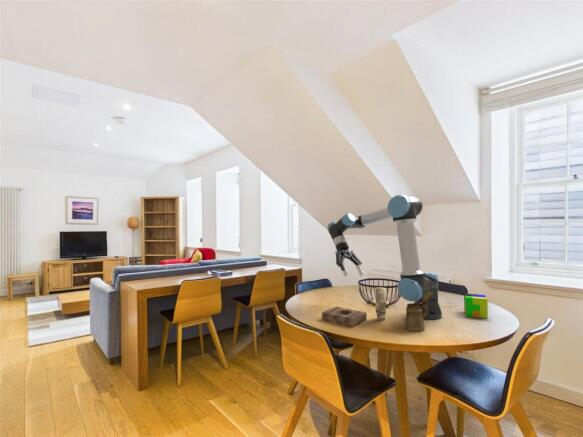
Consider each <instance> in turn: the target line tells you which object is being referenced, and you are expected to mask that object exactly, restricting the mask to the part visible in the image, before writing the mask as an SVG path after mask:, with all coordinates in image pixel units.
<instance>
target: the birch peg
mask: <svg viewBox="0 0 583 437" xmlns="http://www.w3.org/2000/svg"><path fill="white" fill-rule="evenodd" d="M386 292H387V291H386V287H375V314H376V320H378V321H380V322H381V321H385V320H386V317H385V316H386V315H387V308H386V304H387V302H386V300H387V299H386V298H387V296H386V295H387V294H386Z"/></svg>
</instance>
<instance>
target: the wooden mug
mask: <svg viewBox="0 0 583 437" xmlns="http://www.w3.org/2000/svg"><path fill="white" fill-rule="evenodd" d="M432 295H433V291H432V290H431V291H429V292H427V293H426V294H425V295H424V296H423V299H422V303H419V305H418V304H414V302H413V303H412V302H411V303H407V305H406V308H405V311H406V314H405V323H404V326H403V329H405V330H406V331H409V332H416V333H417V332H420V333H421V332H424V331H425V324H424V320H425V319H424V318H425V316H426V314H427V312H428V306H427V304H426V303H427V302H428V301H429V300H430V299H431V298H432ZM421 308H423V309H424V312H423V313H422V309H421Z"/></svg>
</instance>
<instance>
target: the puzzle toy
mask: <svg viewBox="0 0 583 437" xmlns="http://www.w3.org/2000/svg"><path fill="white" fill-rule="evenodd" d="M463 296H464V297H463V301H464V305H463V307H464V308H463V309H464V311H463V312H464V314H465V316H466V317H470V316H471V317H472V318H480V317H481V318H482V319H488V318H489V317H488V316H489V314H488V312H489V310H488V308H489V307H488V305H489V304H488V297H487V296H486V295H485V294H475V293H463ZM481 318H480V319H481Z"/></svg>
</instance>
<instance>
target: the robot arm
mask: <svg viewBox="0 0 583 437" xmlns="http://www.w3.org/2000/svg"><path fill="white" fill-rule="evenodd" d="M423 207H424V206H423V203H422V200H421V199H420V198H419V197H417V196H414V195H408V194H407V195H406V194H397V195H394V196H393V197H391V198H390V200H389V201H388V203H387V207H385V208H383V209H379V210H375V211H370V212H368V213H364V214H362V215H358V216H357V215H356V216H354V214H352V213H350V212H347V213H345V214H344V215H343V216H342V217H340V219H338V221H331V222H329V223H328V224H327V226H326V228H327V231H328V233H329V235H330V237H331V240H332V242H333V244H334V246H335V249H336V251H335V252H334V253H335V263H336V264H335V265H336V266H338V268H340V270H341V272H342V273H343V276H344V277H347V276H349V271H348V269H347V267H346V265H345V263H344V261H345V259H347V260H349V261H350V262H352V263H353V265H355V266H356V270H357V272H358V274H359V276H360V277H363V276H364V275H365V273H364V271H363V268H362V266H361V265H362V264H363V262H362V261H361V259H360V258H359V257H358V256H357V255H356V253H354V250H351V251H350V249H349V248H350V247H349V244H348V242H347V240H346V238H345V236H344V233H345V232H346V231H347V230H348V229H349V230H350V229H364V228H366V227H368V226H369V227H370V226H373V225H377V224H380V223H384V222H388V221H392V222H393V223H394V224H395V225H396V230H397V236H398V237H397V239H398V245H399V253H400V260H401V269H402V271H401V272H400V273H399V277H400V280H399V282H398V283H397V291H398V294H399V295H400V297H402V298H403V300H406V301H407V302H408V301H409V302H413V304H418V305H419V303H422V299H423V296H424V295H425V294H426V293H427V292H429V291H431V290H432V291H433V295H432V298H431V299H430V300H429V301H428V302H427V303H426V304H427V306H428V312H427V314H426V316H425V318H424V320H439V319H442V318H443V311H442V308H441V306H440V302H439V276H438V274H437V273H434V272H427V271H425V272H424V271H422V270H421V265H420V259H419V258H420V257H419V251H418V244H417V235H416V234H417V233H416V229H415V222H416V221H417V219H418V218H417V216H419V215H420V214H421V212H422V210H423ZM421 309H422V313H423V312H424V309H423V308H421Z"/></svg>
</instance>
